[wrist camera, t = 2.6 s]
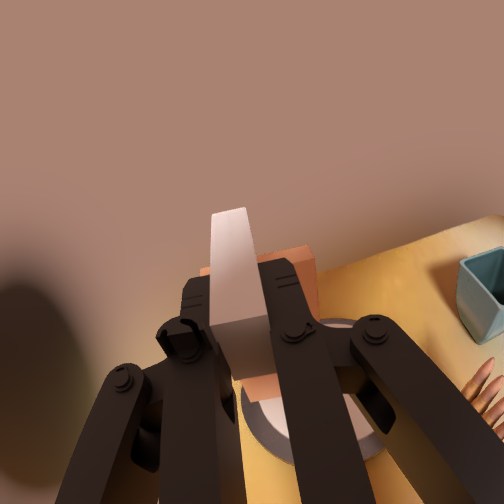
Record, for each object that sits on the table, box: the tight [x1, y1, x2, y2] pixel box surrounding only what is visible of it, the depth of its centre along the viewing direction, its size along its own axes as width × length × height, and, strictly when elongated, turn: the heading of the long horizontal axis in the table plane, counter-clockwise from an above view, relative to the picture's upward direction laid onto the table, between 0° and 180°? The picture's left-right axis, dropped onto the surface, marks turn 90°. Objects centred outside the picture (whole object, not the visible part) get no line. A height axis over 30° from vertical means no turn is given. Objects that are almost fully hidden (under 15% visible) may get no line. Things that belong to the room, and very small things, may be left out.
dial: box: [200, 245, 374, 441], centre depth 24 cm, size 16×15×17 cm
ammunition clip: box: [461, 357, 504, 440], centre depth 14 cm, size 11×2×12 cm, turn 2°
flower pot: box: [456, 246, 504, 345], centre depth 27 cm, size 9×9×9 cm
